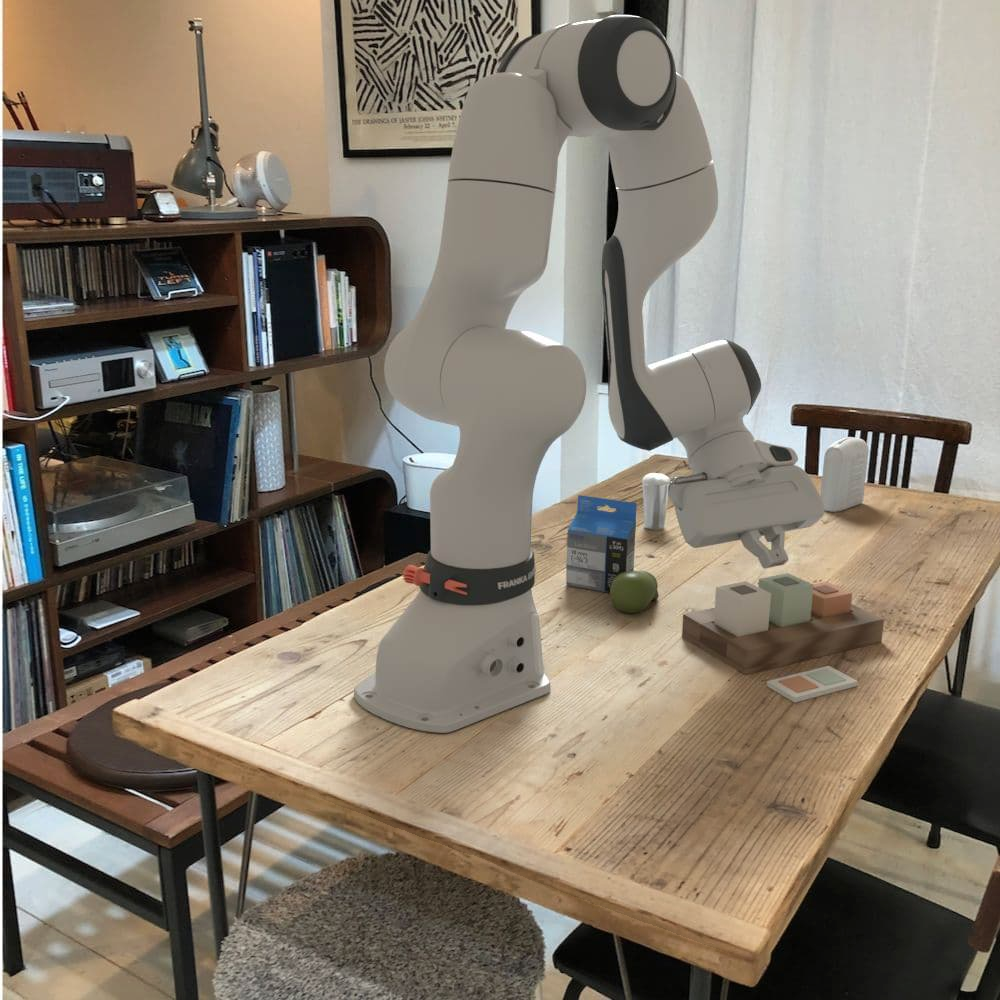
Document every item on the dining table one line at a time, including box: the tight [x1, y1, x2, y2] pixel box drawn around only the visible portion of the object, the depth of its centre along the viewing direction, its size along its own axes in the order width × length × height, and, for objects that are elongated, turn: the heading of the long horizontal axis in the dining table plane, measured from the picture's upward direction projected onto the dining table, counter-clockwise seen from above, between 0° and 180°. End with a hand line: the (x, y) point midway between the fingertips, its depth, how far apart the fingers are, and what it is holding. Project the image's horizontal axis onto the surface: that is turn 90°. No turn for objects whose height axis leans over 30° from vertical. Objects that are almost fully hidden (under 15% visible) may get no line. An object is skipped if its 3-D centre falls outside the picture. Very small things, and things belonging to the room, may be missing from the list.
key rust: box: [811, 581, 853, 618], centre depth 128 cm, size 4×4×5 cm
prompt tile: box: [766, 665, 858, 703], centre depth 114 cm, size 9×4×1 cm, turn 116°
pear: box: [609, 570, 659, 614], centre depth 136 cm, size 6×5×10 cm
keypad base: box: [681, 603, 885, 676], centre depth 126 cm, size 21×12×3 cm, turn 116°
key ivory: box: [714, 581, 771, 637], centre depth 122 cm, size 4×4×5 cm
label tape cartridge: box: [565, 494, 638, 594], centre depth 142 cm, size 9×4×12 cm, turn 65°
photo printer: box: [819, 436, 870, 513], centre depth 181 cm, size 10×4×12 cm, turn 134°
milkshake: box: [641, 471, 675, 531], centre depth 168 cm, size 5×5×10 cm
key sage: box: [757, 572, 814, 627], centre depth 125 cm, size 4×4×5 cm
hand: (776, 564), depth 126 cm, fingers closed
